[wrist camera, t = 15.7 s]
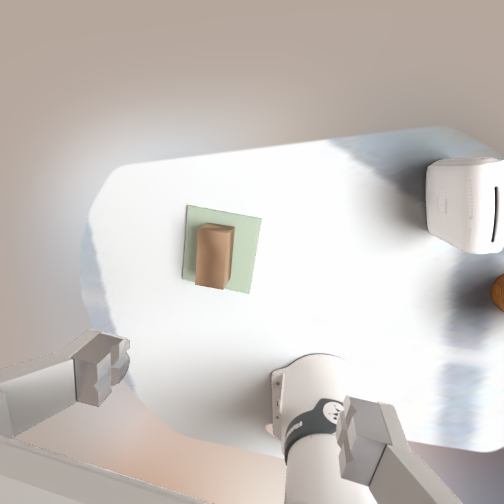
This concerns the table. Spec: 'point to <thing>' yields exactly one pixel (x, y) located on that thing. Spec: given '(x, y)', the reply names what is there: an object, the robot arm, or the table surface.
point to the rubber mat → (242, 247)
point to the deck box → (214, 255)
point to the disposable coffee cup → (498, 292)
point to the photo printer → (467, 203)
